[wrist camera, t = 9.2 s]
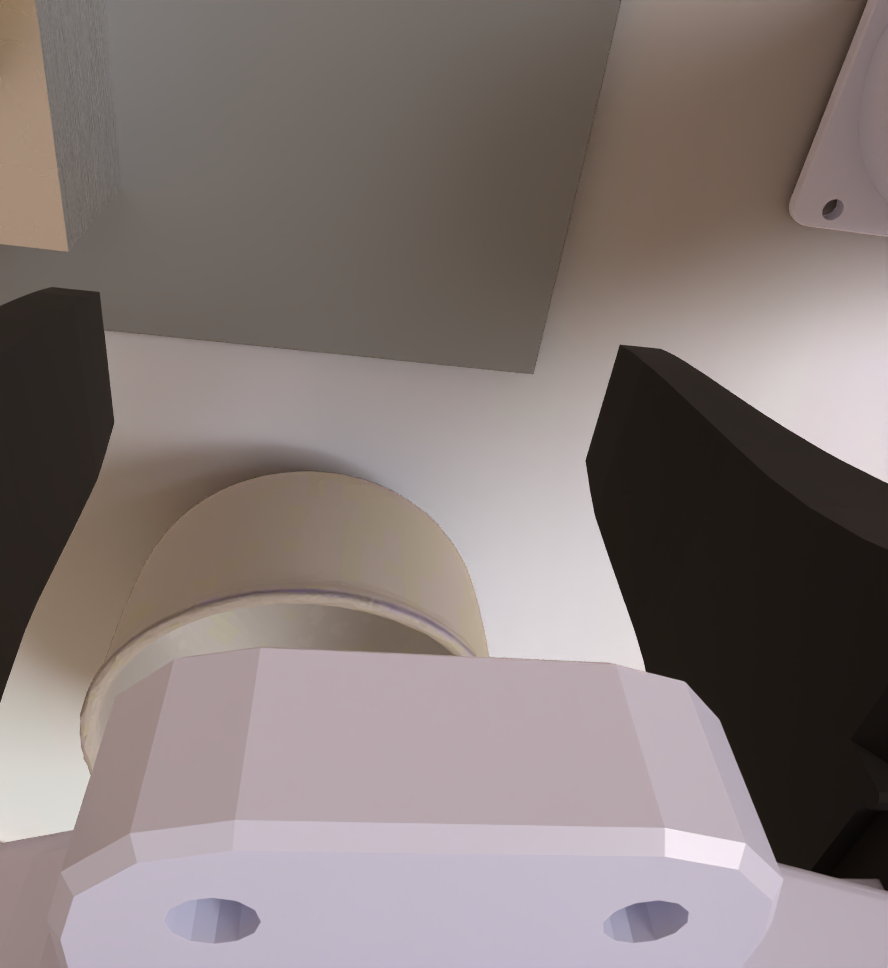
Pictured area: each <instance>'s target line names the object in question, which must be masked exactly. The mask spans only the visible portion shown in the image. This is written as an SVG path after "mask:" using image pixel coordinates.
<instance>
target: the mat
mask: <svg viewBox="0 0 888 968" xmlns="http://www.w3.org/2000/svg"><path fill="white" fill-rule="evenodd" d="M620 3H621V0H105V7H106V19H107V30H108V41H109V52H110V64H111V75H112V86H113V98H114V109H115V120H116V131H117V143H118V154H119V165H120V176H121V189H120V191H119V192H118V193H117V194H116V195H115V197H114V198H113V199H112V200H111V201H110V203H109V204H108V205H107V206H106V207H105V209H104V210H103V211H102V212H101V213H100V215H99V216H98V217H97V218H96V219H95V221H94V222H93V223H92V224H91V225H90V227H89V228H88V229H87V230H86V231H85V233H84V234H83V235H82V236H81V237H80V239H79V240H78V241H77V242H76V243H75V245H74V246H73V247H72V248H71V249H70V251H69V252H66V251H57V250H48V249H40V248H31V247H22V246H13V245H4V244H0V306H1V305H3V304H5V303H8V302H10V301H12V300H15V299H17V298H20V297H22V296H25V295H27V294H30V293H33V292H35V291H38V290H42V289H46V288H50V287H57V288H67V289H76V290H86V291H96V292H100V299H101V308H102V317H103V326H104V330H109V331H119V332H129V333H138V334H148V335H158V336H168V337H177V338H187V339H197V340H206V341H216V342H226V343H236V344H245V345H255V346H265V347H274V348H284V349H294V350H304V351H313V352H323V353H333V354H342V355H352V356H362V357H372V358H381V359H391V360H401V361H410V362H420V363H430V364H440V365H449V366H459V367H469V368H478V369H488V370H498V371H508V372H517V373H527V374H534V369H535V365H536V361H537V357H538V352H539V348H540V344H541V340H542V335H543V331H544V327H545V323H546V318H547V314H548V310H549V306H550V301H551V297H552V293H553V289H554V284H555V280H556V276H557V272H558V267H559V263H560V259H561V254H562V250H563V246H564V242H565V237H566V233H567V229H568V225H569V220H570V216H571V212H572V208H573V203H574V199H575V195H576V191H577V186H578V182H579V178H580V174H581V169H582V165H583V161H584V157H585V152H586V148H587V144H588V140H589V135H590V131H591V127H592V123H593V118H594V114H595V110H596V106H597V101H598V97H599V93H600V89H601V84H602V80H603V76H604V72H605V67H606V63H607V59H608V55H609V50H610V46H611V42H612V37H613V33H614V29H615V25H616V20H617V16H618V12H619V8H620Z"/></svg>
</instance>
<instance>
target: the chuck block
mask: <svg viewBox="0 0 888 968" xmlns="http://www.w3.org/2000/svg"><path fill="white" fill-rule="evenodd" d="M120 189H121V176H120V165H119V154H118V143H117V131H116V120H115V109H114V98H113V86H112V75H111V64H110V52H109V41H108V30H107V19H106V7H105V0H0V244H4V245H13V246H22V247H31V248H40V249H48V250H57V251H66V252H69V251H70V249H71V248H72V247H73V246H74V245H75V243H76V242H77V241H78V240H79V239H80V237H81V236H82V235H83V234H84V233H85V231H86V230H87V229H88V228H89V227H90V225H91V224H92V223H93V222H94V221H95V219H96V218H97V217H98V216H99V215H100V213H101V212H102V211H103V210H104V209H105V207H106V206H107V205H108V204H109V203H110V201H111V200H112V199H113V198H114V197H115V195H116V194H117V193H118V192H119V191H120Z"/></svg>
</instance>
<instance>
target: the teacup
mask: <svg viewBox="0 0 888 968" xmlns="http://www.w3.org/2000/svg"><path fill="white" fill-rule="evenodd" d="M255 647H281V648H303V649H324V650H346V651H367V652H389V653H410V654H431V655H453V656H474V657H489V652H488V646H487V640H486V636H485V631H484V626H483V622H482V617H481V613H480V608H479V605H478V601H477V598H476V594H475V591H474V587H473V584H472V581H471V578H470V575H469V573H468V570H467V568H466V566H465V563H464V561H463V560H462V558H461V556H460V554H459V552H458V550H457V549H456V547H455V546H454V544H453V543H452V541H451V540H450V539H449V537H448V536H447V535H446V534H445V532H444V531H443V530H442V529H441V527H440V526H439V525H438V524H437V523H436V522H435V521H434V520H433V519H432V518H431V517H430V516H429V515H428V514H427V513H425V512H424V511H423V510H421V509H420V508H419V507H417V506H416V505H415V504H413V503H412V502H410V501H409V500H407V499H406V498H404V497H402V496H400V495H398V494H397V493H395V492H393V491H391V490H389V489H387V488H385V487H383V486H380V485H377V484H375V483H372V482H370V481H366V480H363V479H359V478H355V477H351V476H348V475H342V474H336V473H327V472H314V471H301V472H285V473H278V474H271V475H264V476H261V477H257V478H253V479H250V480H246V481H243V482H239V483H237V484H234V485H232V486H230V487H227V488H225V489H222V490H220V491H219V492H217V493H215V494H213V495H211V496H209V497H207V498H206V499H204V500H203V501H201V502H200V503H198V504H197V505H196V506H194V507H193V508H191V509H190V510H189V511H187V512H186V513H185V514H184V515H183V516H182V517H181V518H179V519H178V520H177V521H176V522H175V523H174V524H173V525H172V526H171V528H170V529H169V530H168V531H167V532H166V533H165V534H164V535H163V537H162V538H161V539H160V541H159V542H158V543H157V545H156V546H155V547H154V549H153V550H152V552H151V554H150V555H149V557H148V559H147V560H146V562H145V564H144V566H143V568H142V570H141V572H140V574H139V576H138V578H137V580H136V583H135V585H134V587H133V589H132V592H131V594H130V596H129V598H128V601H127V603H126V605H125V607H124V610H123V613H122V615H121V618H120V621H119V623H118V626H117V629H116V631H115V634H114V637H113V639H112V642H111V645H110V648H109V651H108V654H107V656H106V659H105V662H104V664H103V665H102V667H101V668H100V669H99V671H98V672H97V674H96V675H95V677H94V679H93V681H92V683H91V685H90V687H89V689H88V691H87V694H86V697H85V700H84V704H83V707H82V710H81V714H80V737H81V748H82V751H83V754H84V760H85V762H86V763H87V765H88V769H89V772H90V774H91V773H92V770H93V767H94V764H95V760H96V757H97V754H98V751H99V748H100V745H101V741H102V738H103V735H104V732H105V729H106V725H107V722H108V719H109V716H110V713H111V710H112V706H113V703H114V700H115V697H116V696H118V695H119V694H121V693H122V692H124V691H125V690H127V689H129V688H130V687H132V686H133V685H135V684H136V683H138V682H139V681H141V680H143V679H144V678H146V677H147V676H149V675H150V674H152V673H154V672H155V671H157V670H158V669H160V668H161V667H163V666H165V665H166V664H168V663H169V662H171V661H172V660H174V659H178V658H183V657H187V656H195V655H203V654H210V653H218V652H225V651H233V650H240V649H248V648H255Z"/></svg>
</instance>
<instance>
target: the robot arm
mask: <svg viewBox="0 0 888 968" xmlns="http://www.w3.org/2000/svg"><path fill="white" fill-rule="evenodd" d="M834 199H837V204H836V207H835V208H834V210H833V211H832V212H830V213H829V214H826V215H822V212H823V208H824V206H825V205H826V203H828V202H829V201H831V200H834ZM789 212H790V215H791V216H792V218H793V219H794V220H795V221H796V222H797V223H799V224H801V225H803V226H807V227H815V228H822V229H830V230H837V231H845V232H853V233H860V234H868V235H876V236H883V237H888V0H868V2H867V4H866V7H865V9H864V12H863V15H862V17H861V20H860V22H859V25H858V27H857V30H856V33H855V35H854V38H853V40H852V43H851V45H850V48H849V51H848V53H847V56H846V58H845V61H844V63H843V66H842V68H841V71H840V74H839V76H838V79H837V81H836V84H835V86H834V89H833V92H832V94H831V97H830V99H829V102H828V104H827V107H826V110H825V112H824V115H823V117H822V120H821V122H820V125H819V128H818V130H817V133H816V135H815V138H814V140H813V143H812V145H811V148H810V151H809V153H808V156H807V158H806V161H805V163H804V166H803V169H802V171H801V174H800V176H799V179H798V181H797V184H796V187H795V189H794V192H793V194H792V197H791V199H790V204H789ZM113 425H114V416H113V407H112V398H111V389H110V380H109V371H108V362H107V353H106V344H105V335H104V326H103V317H102V308H101V299H100V292H96V291H86V290H76V289H67V288H57V287H50V288H46V289H42V290H38V291H35V292H33V293H30V294H27V295H25V296H22V297H20V298H17V299H15V300H12V301H10V302H8V303H5V304H3V305H1V306H0V702H1V699H2V695H3V692H4V689H5V687H6V684H7V681H8V678H9V675H10V672H11V669H12V666H13V663H14V661H15V658H16V655H17V652H18V649H19V646H20V643H21V640H22V637H23V635H24V632H25V629H26V627H27V624H28V622H29V620H30V618H31V615H32V613H33V611H34V608H35V606H36V604H37V601H38V599H39V597H40V595H41V593H42V591H43V589H44V587H45V585H46V583H47V581H48V579H49V577H50V575H51V573H52V571H53V569H54V567H55V565H56V563H57V561H58V559H59V557H60V555H61V553H62V551H63V549H64V547H65V545H66V543H67V541H68V539H69V537H70V535H71V533H72V531H73V529H74V527H75V525H76V523H77V521H78V519H79V516H80V514H81V512H82V510H83V508H84V506H85V504H86V502H87V500H88V498H89V496H90V494H91V492H92V489H93V487H94V485H95V483H96V481H97V478H98V475H99V472H100V469H101V466H102V463H103V460H104V456H105V453H106V450H107V446H108V443H109V439H110V435H111V432H112V428H113ZM586 466H587V473H588V479H589V486H590V492H591V497H592V502H593V508H594V513H595V517H596V520H597V523H598V526H599V529H600V532H601V535H602V538H603V541H604V544H605V547H606V550H607V553H608V556H609V559H610V562H611V564H612V567H613V570H614V573H615V576H616V579H617V582H618V584H619V587H620V590H621V593H622V596H623V599H624V602H625V604H626V607H627V610H628V613H629V616H630V619H631V622H632V624H633V627H634V630H635V633H636V637H637V640H638V643H639V647H640V650H641V654H642V657H643V661H644V665H645V670H646V672H644V671H640V670H636V669H632V668H628V667H624V666H620V665H616V664H612V663H603V662H581V661H560V660H538V659H517V658H495V657H474V656H453V655H431V654H410V653H389V652H367V651H346V650H324V649H303V648H281V647H255V648H248V649H240V650H233V651H225V652H218V653H210V654H203V655H195V656H187V657H183V658H178V659H174V660H172V661H171V662H169V663H168V664H166V665H165V666H163V667H161V668H160V669H158V670H157V671H155V672H154V673H152V674H150V675H149V676H147V677H146V678H144V679H143V680H141V681H139V682H138V683H136V684H135V685H133V686H132V687H130V688H129V689H127V690H125V691H124V692H122V693H121V694H119V695H118V696H116V697H115V700H114V703H113V706H112V710H111V713H110V716H109V719H108V722H107V725H106V729H105V732H104V735H103V738H102V741H101V745H100V748H99V751H98V754H97V757H96V760H95V764H94V767H93V770H92V773H91V776H90V780H89V783H88V786H87V789H86V792H85V795H84V799H83V802H82V805H81V808H80V811H79V815H78V818H77V821H76V824H75V827H74V830H71V831H66V832H60V833H55V834H49V835H44V836H38V837H33V838H27V839H22V840H16V841H11V842H5V843H0V968H888V483H886V482H883V481H881V480H879V479H877V478H875V477H873V476H871V475H869V474H867V473H865V472H863V471H861V470H859V469H857V468H855V467H853V466H851V465H849V464H847V463H845V462H843V461H842V460H840V459H838V458H836V457H834V456H832V455H831V454H829V453H827V452H825V451H823V450H822V449H820V448H818V447H816V446H815V445H813V444H811V443H810V442H808V441H806V440H805V439H803V438H801V437H800V436H798V435H796V434H795V433H793V432H791V431H790V430H788V429H786V428H785V427H783V426H781V425H780V424H778V423H777V422H775V421H774V420H772V419H771V418H769V417H767V416H766V415H764V414H763V413H761V412H760V411H758V410H757V409H755V408H754V407H752V406H751V405H749V404H748V403H746V402H745V401H743V400H742V399H740V398H739V397H737V396H736V395H734V394H733V393H731V392H730V391H728V390H727V389H725V388H724V387H723V386H721V385H720V384H718V383H717V382H715V381H714V380H712V379H711V378H709V377H708V376H706V375H705V374H703V373H702V372H700V371H699V370H697V369H696V368H694V367H693V366H691V365H689V364H688V363H686V362H685V361H683V360H681V359H680V358H678V357H676V356H674V355H672V354H671V353H668V352H666V351H664V350H662V349H657V348H647V347H637V346H627V345H620V346H619V350H618V353H617V357H616V360H615V363H614V367H613V370H612V373H611V377H610V380H609V383H608V387H607V390H606V394H605V397H604V400H603V404H602V407H601V410H600V414H599V417H598V421H597V424H596V427H595V431H594V434H593V437H592V441H591V444H590V447H589V451H588V454H587V458H586Z"/></svg>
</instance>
